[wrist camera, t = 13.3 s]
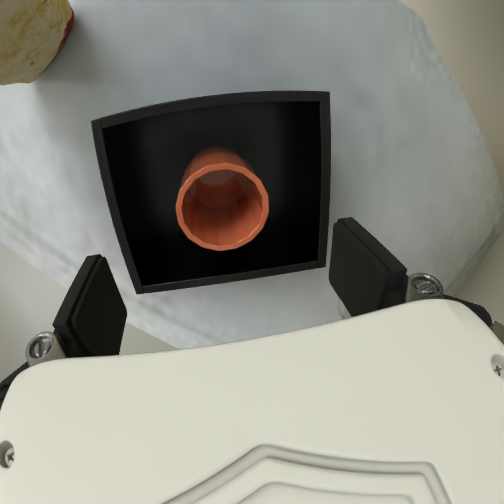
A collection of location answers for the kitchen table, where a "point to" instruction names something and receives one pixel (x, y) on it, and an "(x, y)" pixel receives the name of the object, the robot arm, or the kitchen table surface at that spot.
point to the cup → (221, 200)
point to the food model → (31, 36)
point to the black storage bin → (173, 168)
